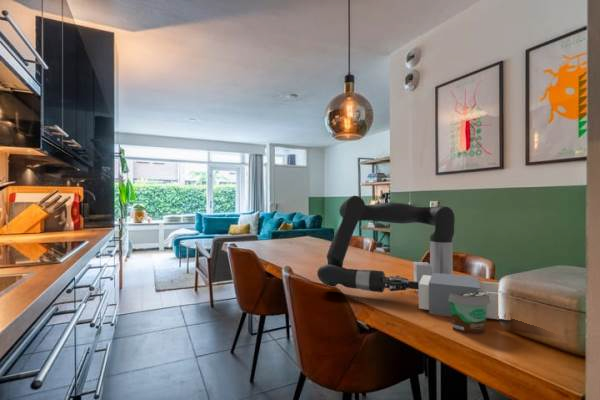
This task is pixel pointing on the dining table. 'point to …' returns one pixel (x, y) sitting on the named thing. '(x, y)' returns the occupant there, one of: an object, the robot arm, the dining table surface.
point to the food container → (469, 312)
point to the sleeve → (448, 290)
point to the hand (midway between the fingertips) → (420, 285)
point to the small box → (421, 271)
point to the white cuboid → (486, 286)
